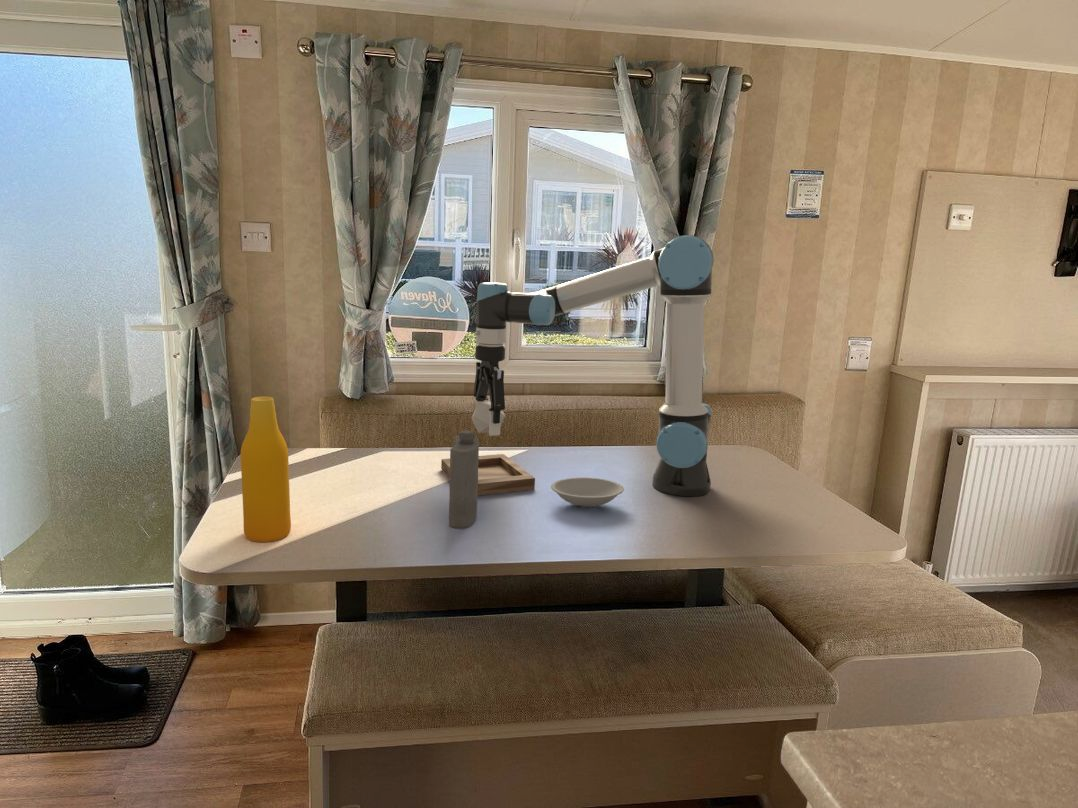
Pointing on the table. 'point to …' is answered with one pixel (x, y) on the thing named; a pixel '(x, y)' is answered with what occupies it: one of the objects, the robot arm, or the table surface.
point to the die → (483, 416)
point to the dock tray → (498, 475)
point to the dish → (587, 491)
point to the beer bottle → (265, 475)
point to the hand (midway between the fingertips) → (487, 430)
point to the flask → (463, 480)
